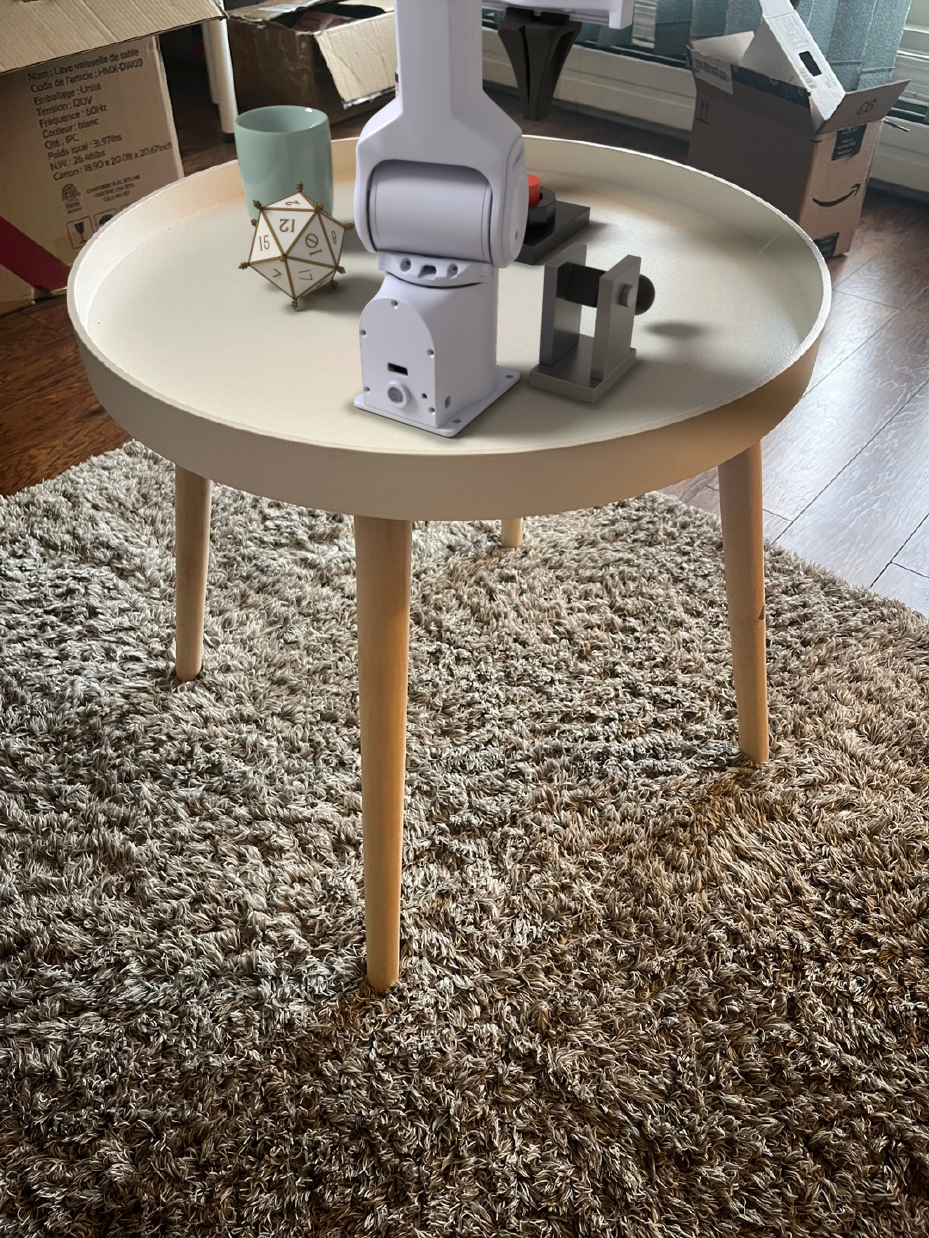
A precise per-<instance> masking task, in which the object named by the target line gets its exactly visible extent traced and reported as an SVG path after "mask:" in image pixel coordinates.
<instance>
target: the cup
mask: <svg viewBox="0 0 929 1238" xmlns="http://www.w3.org/2000/svg"><path fill="white" fill-rule="evenodd" d="M233 133H234V142H235V143H234V144H235V149H236V156H237V163H238V171H239V177H240V183H241V188H242V194H243V197H244V202H245V206H246V210H247V213H248V216H249V218H250V220H253V219H256V220H257V219H258V214H259V209H257V208H256V207H254V204H253V200H256V201H259V202H260V203H261V205H262V206H266V205H268V204H271V203H273V202H275V201H278V200H280V199H282V198H285V197H287V196H290V195H292V194H294V193H297V189H296V188H297V186H296V185H297V184H298V183H299V181H301V183H302V185H303V190H302V193H303V194H304V195H306V196H307V197H308V198H309V199H311V200H312V201H313V202H314V203H316V204H317V203H322V205H323V207H324V208H323V210H325V211H326V212H327V213H328V214H330V215H331V216H332V217H333V215H334V209H335V208H334V205H335V175H334V160H333V146H332V145H333V144H332V136H331V135H332V133H331V126H330V120H329V117H328V115H327V114H326V113H325V112H323V111H322V110H319V109H315V108H312V107H307V106H300V105H272V106H271V105H270V106H263V107H259V108H254V109H251V110H248V111H246V112H243V113H241V114H239V115H238V116H237V117H236V118H235V119H234V122H233ZM255 228H256V227H254V229H255Z"/></svg>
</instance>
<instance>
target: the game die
mask: <svg viewBox="0 0 929 1238" xmlns="http://www.w3.org/2000/svg"><path fill="white" fill-rule="evenodd" d="M296 186H297V188H296V189H297V193H294V194H292V195H290V196H287V197H285V198H282V199H280V200H278V201H275V202H273V203H271V204H268V205H266V206H262V205H261V203H260V202H259V201H256V200H253V204H254V207H256V208H257V209H259V214H258V219H257V220H256V219H253V220H251V219H250V221H249V222H250V223H251V226H252V227H254V233H253V237H252V241H251V246H250V250H249V255H248V259H247V261H243V262H240V264H239V266H238V267H237V269H239V270H243V271H244V270H245V269H248V268H249V267H250V268H251V269H253V270H254V271H255V272H257V273H258V274H259V275H260V276H262V277H263V278H264V279H266V280H267V281H269V282H270V283H271V284H272V285H273V286H275V287H276V288H278V289H279V290H280V291H281V292H282V293H284V294H286V295H287V296H288V297H289V298H291V299H292V301H291V305H290V306H291V307H292V309H293V311H294V312H295V311H296V310H297V308H299V302H298V300H299V299H301V298H303V297H305V296H307V295H309V294H310V293H312V292H314V291H317V290H318V289H320V288H322V287H324V286H327V285H328V284H329V285H330V286H331V288H332V289H333V288H335V289H339V286H338V284H339V283H338V282H337V281H336V280H335V279H334V278H335V276H336V273H339V274H341V275H343V274H347V272H346V270H345V267H344V266H342V265H340V261H341V256H342V252H343V247H344V241H345V236H346V232H347V231H349V232H350V231H351V230H352V231H353V230H354V228H355V227H356V226H355V223H352V222H349V223H346V225H344V224H342V223H341V222H340V221H338V220H337V219H336V218H335V217H333V216H331V215H330V214H328V213H327V212H326V211H325V210H323V208H324V207H323V205H322V203H317V204H316V203H314V202H313V201H312V200H311V199H309V198H308V197H307V196H306V195H304V194H303V193H302V190H303V185H302V183H301V181H299V183H298V184H297V185H296ZM255 227H256V228H255Z"/></svg>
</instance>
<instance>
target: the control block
mask: <svg viewBox="0 0 929 1238" xmlns="http://www.w3.org/2000/svg"><path fill="white" fill-rule="evenodd" d="M590 216H591V206H586V205H582V204H577V203H573V202H567V201H562V200H558V199H557V195H556V192H555V191H553V190H552V189H550V188H548V187H546V186H542V185H540V199H539V201H538V202H536V203H531V204H528V214H527V222H526V228H525V234H524V239H523V243H522V246H521V249H520V252H519V254H518V256H517V258H516V259H515V260H514V261H513V262H516V263H519V264H520V263H521V264H524V265H528V266H532V267H533V266H535V265H536V264H537V263H539V262H540V261H541V260H542V259H544V258H545V257H547V256H549V255H550V254H551V253H552V252H553V251H556V250H557V249H558V248H559V247H561V246H563V244H565V243H566V242H568V241H569V240H570V239H572V238H573V237H575V236H576V235H578V234H579V233H580V232H582V231H583V230H584V229H586V228H587V227H588V226H589V225H590Z"/></svg>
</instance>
